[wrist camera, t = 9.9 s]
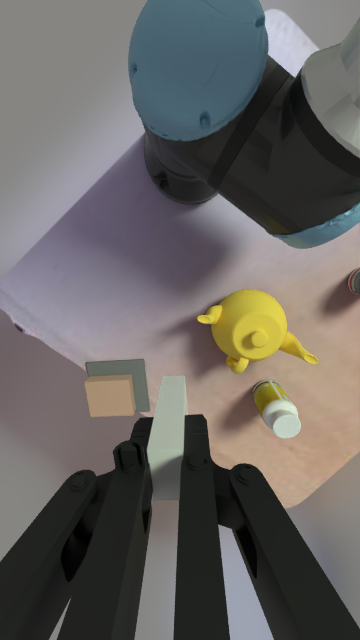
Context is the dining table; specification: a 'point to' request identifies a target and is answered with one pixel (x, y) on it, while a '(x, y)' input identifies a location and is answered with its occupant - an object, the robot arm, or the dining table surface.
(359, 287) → the pill bottle
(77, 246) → the dining table surface
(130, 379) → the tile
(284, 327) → the teapot
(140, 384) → the mat
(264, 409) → the pill bottle
